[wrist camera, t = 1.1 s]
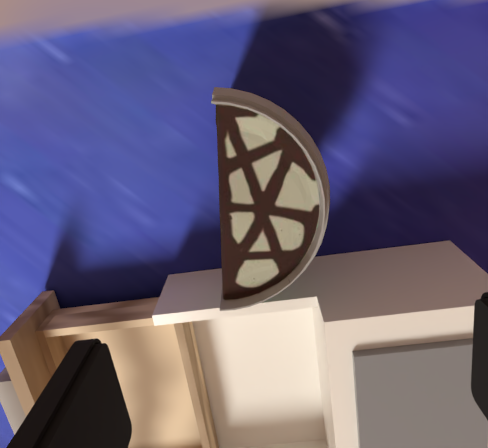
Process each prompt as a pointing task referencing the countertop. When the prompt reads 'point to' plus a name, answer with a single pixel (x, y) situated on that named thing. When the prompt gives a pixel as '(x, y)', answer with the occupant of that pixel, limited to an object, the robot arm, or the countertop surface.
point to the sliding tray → (125, 362)
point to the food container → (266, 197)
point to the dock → (342, 352)
